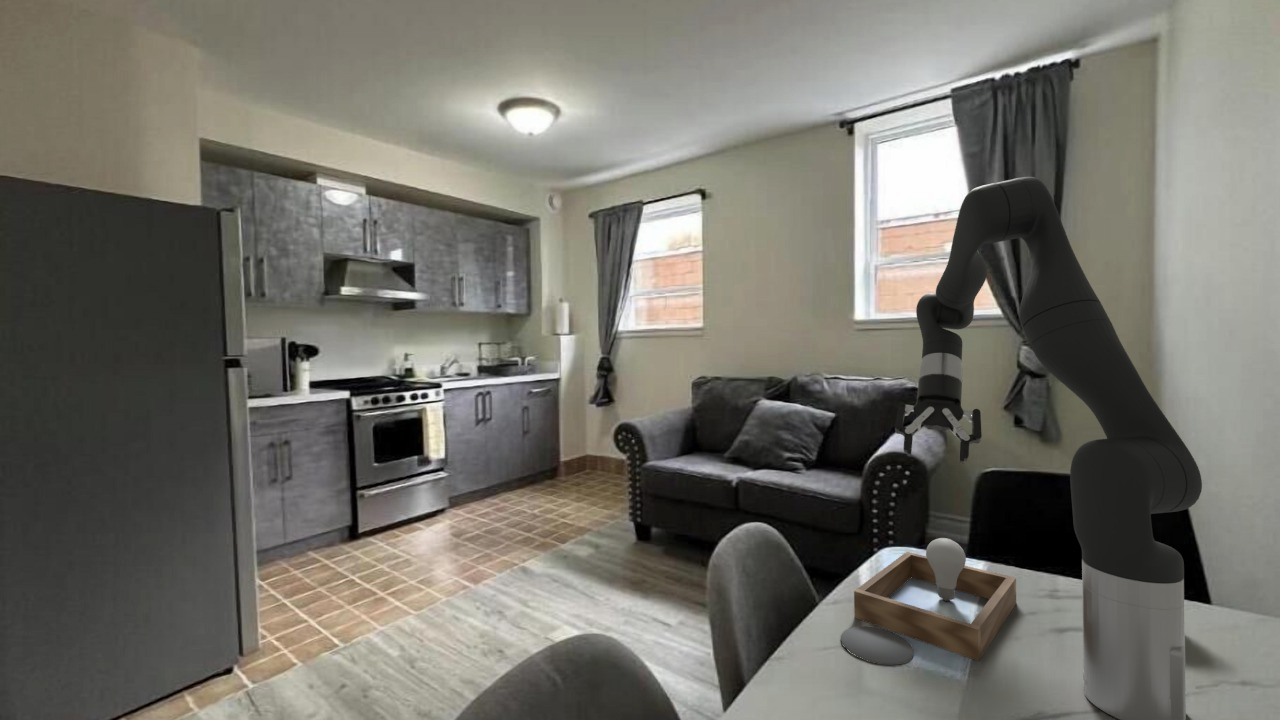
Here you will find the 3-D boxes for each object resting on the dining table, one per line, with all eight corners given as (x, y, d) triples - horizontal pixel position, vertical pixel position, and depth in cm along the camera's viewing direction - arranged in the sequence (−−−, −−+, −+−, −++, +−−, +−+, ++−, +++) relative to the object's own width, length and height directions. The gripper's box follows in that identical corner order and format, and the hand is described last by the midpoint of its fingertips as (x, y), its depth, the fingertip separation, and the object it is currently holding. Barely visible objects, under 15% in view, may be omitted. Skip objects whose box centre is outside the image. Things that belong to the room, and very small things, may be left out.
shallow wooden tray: (1016, 603, 92) (1015, 577, 92) (978, 661, 76) (978, 629, 75) (907, 574, 105) (906, 551, 105) (854, 617, 88) (854, 591, 88)
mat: (923, 645, 80) (923, 642, 80) (898, 674, 73) (898, 671, 73) (857, 622, 87) (857, 619, 87) (829, 646, 80) (829, 643, 80)
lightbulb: (955, 593, 97) (954, 533, 96) (973, 609, 90) (972, 545, 90) (920, 592, 97) (919, 532, 97) (936, 608, 91) (935, 544, 91)
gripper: (899, 369, 105) (892, 446, 99) (984, 375, 98) (982, 457, 92) (900, 386, 111) (893, 459, 105) (980, 392, 104) (977, 471, 98)
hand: (934, 458), depth 98 cm, fingers open, 8 cm apart
